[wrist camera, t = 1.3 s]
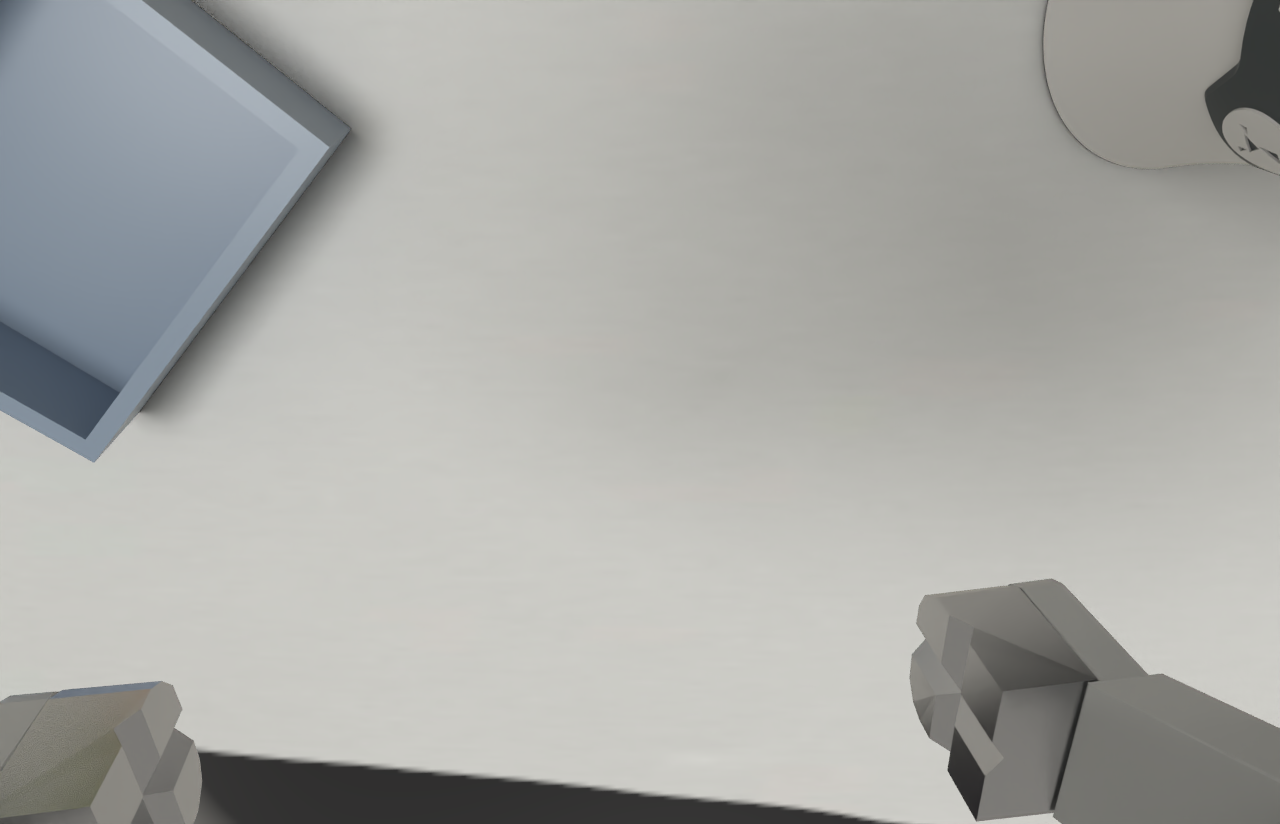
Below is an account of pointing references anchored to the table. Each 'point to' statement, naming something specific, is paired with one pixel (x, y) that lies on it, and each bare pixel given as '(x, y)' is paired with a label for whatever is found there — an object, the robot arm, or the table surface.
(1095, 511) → the table surface
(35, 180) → the tote
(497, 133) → the table surface
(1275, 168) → the robot arm
